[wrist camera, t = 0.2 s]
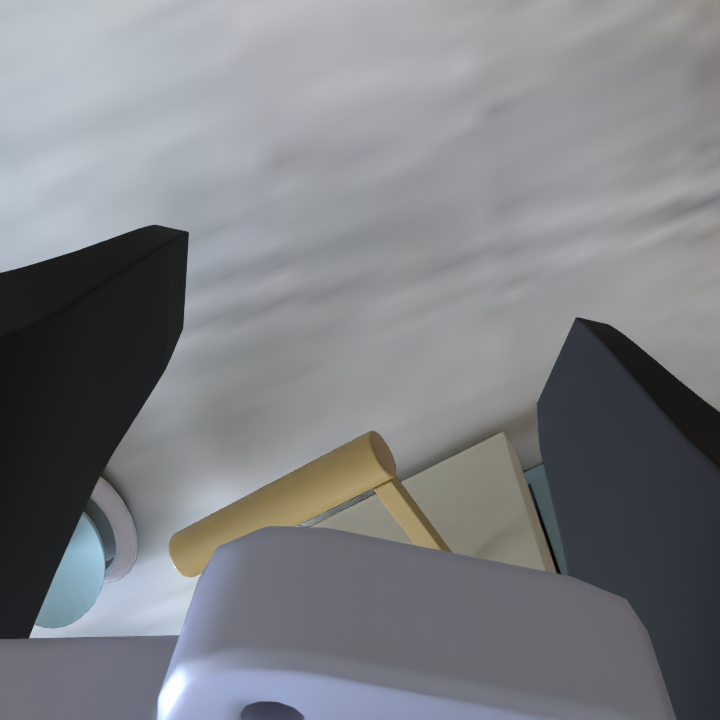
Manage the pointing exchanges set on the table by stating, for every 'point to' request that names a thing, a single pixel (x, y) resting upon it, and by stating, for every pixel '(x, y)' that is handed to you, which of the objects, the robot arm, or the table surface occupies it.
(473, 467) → the drawer
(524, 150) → the table surface
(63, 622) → the pacifier
